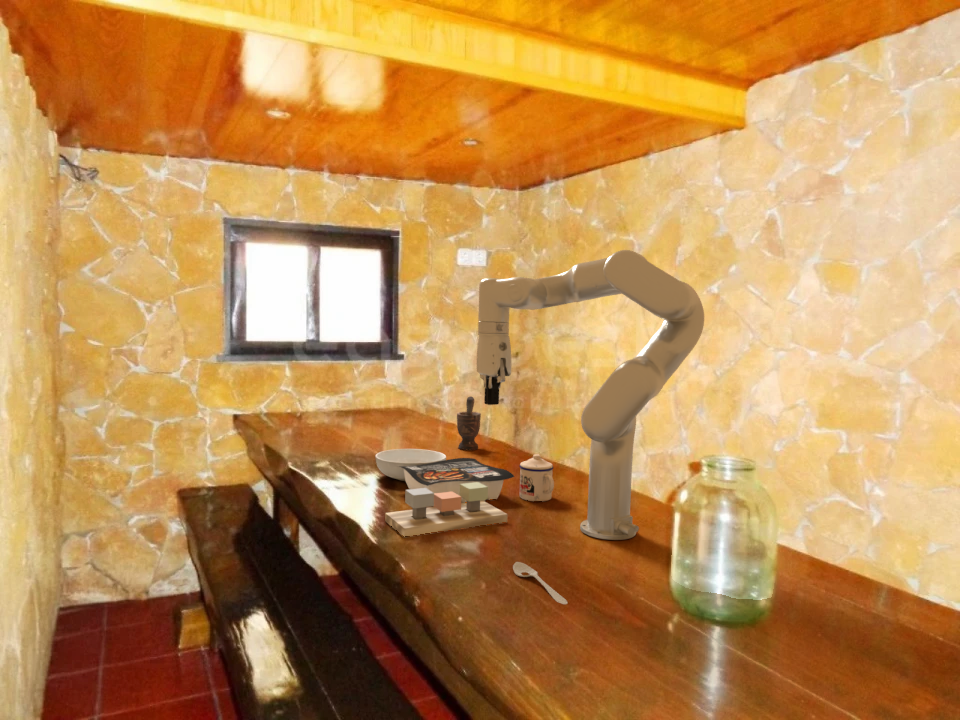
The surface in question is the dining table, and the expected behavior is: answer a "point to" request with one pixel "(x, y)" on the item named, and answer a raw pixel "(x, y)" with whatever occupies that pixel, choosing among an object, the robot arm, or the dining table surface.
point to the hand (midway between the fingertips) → (491, 404)
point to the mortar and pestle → (468, 426)
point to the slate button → (419, 501)
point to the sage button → (473, 494)
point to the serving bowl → (405, 460)
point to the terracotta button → (447, 502)
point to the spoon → (522, 567)
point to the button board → (444, 519)
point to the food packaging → (455, 476)
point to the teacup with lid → (536, 479)
